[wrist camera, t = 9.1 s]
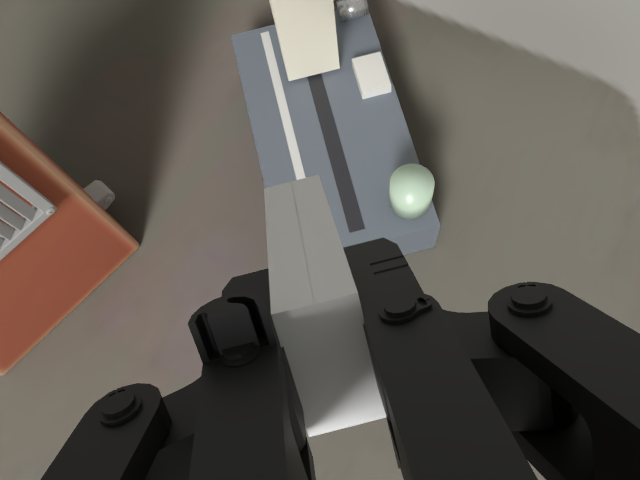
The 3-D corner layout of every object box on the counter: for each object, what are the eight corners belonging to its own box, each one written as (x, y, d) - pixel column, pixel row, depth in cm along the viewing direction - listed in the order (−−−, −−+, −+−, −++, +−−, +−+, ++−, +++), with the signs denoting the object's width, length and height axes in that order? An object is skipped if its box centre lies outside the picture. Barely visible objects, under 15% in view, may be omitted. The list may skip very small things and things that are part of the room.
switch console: (434, 247, 41) (441, 220, 36) (291, 283, 41) (280, 261, 36) (366, 37, 47) (365, -7, 43) (242, 69, 47) (228, 27, 43)
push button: (436, 213, 37) (440, 197, 35) (395, 224, 37) (396, 208, 35) (424, 176, 38) (427, 158, 36) (384, 186, 38) (384, 169, 36)
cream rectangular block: (339, 68, 41) (328, -47, 32) (288, 81, 41) (262, -30, 32) (331, 40, 42) (318, -80, 33) (281, 53, 42) (254, -63, 33)
